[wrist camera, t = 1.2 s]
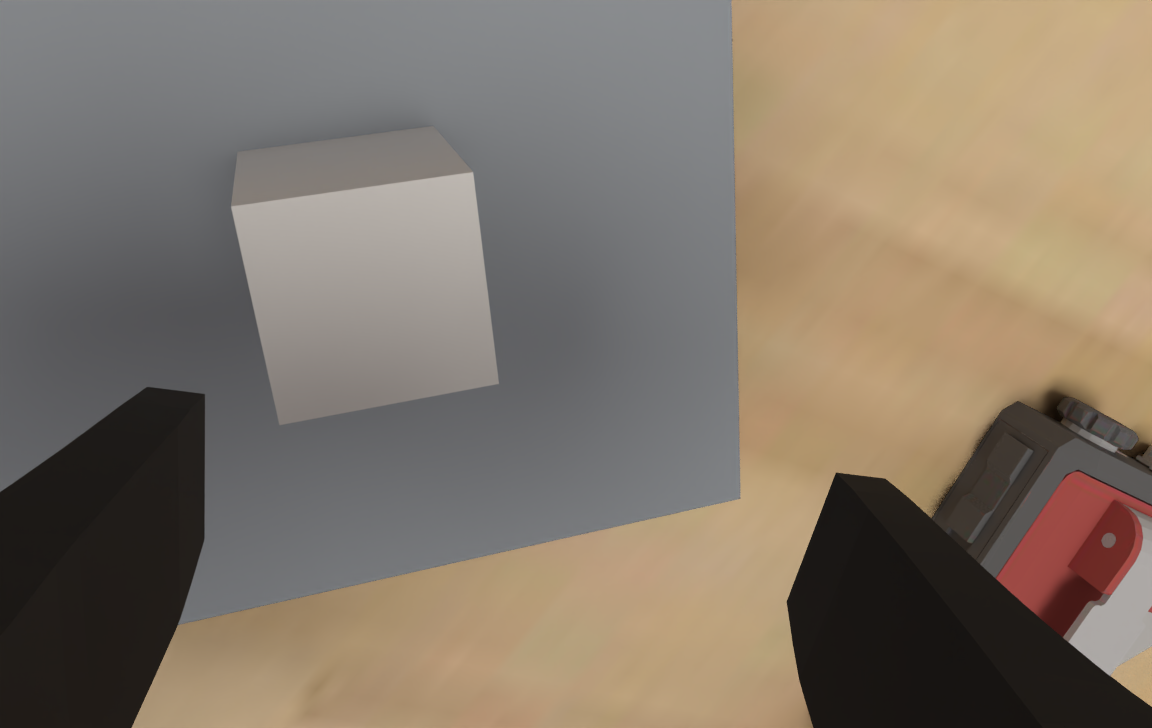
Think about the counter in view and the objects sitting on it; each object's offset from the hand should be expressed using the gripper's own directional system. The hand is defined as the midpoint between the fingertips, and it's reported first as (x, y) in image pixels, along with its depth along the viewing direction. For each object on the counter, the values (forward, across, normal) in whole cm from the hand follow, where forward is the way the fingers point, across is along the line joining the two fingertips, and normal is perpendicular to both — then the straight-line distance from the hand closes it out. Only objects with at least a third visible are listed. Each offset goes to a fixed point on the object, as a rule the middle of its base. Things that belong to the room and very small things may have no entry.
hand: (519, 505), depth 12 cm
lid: (+7, +3, 0) cm, 7 cm away
